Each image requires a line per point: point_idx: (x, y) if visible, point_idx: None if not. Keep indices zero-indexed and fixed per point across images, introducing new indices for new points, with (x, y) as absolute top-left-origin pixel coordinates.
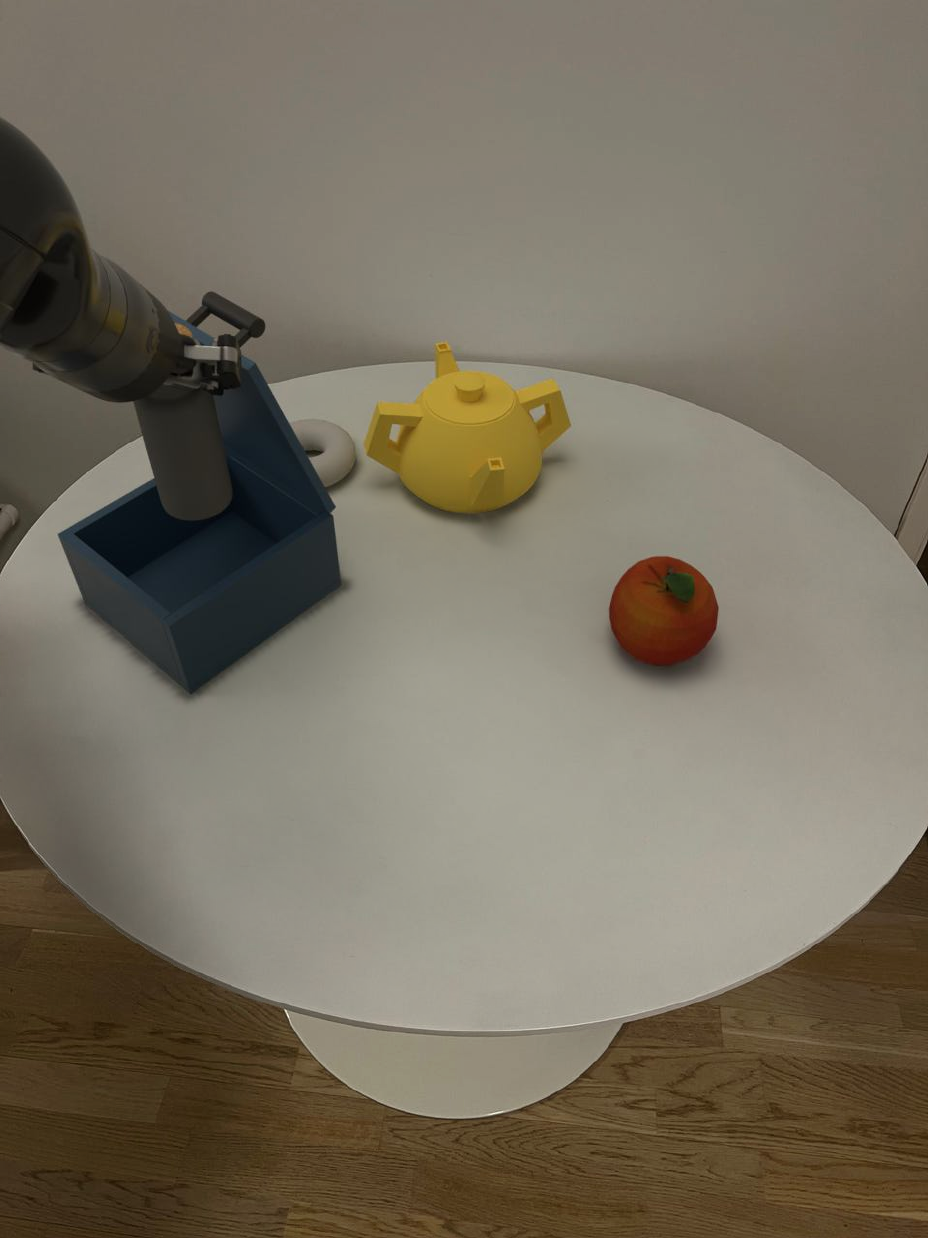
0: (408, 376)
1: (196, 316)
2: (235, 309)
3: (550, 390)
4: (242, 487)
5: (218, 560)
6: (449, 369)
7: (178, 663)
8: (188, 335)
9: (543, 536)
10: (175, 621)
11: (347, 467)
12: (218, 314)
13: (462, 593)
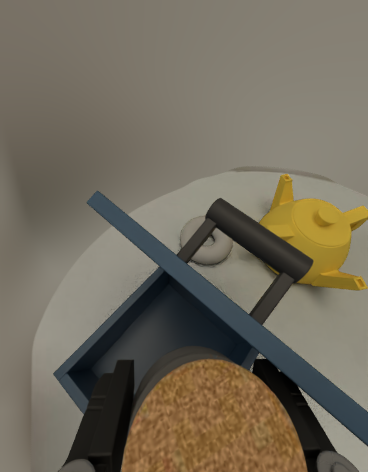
0: (241, 180)
1: (201, 238)
2: (269, 240)
3: (365, 215)
4: (182, 287)
5: (166, 329)
6: (288, 191)
7: None
8: (291, 440)
9: (345, 297)
10: None
11: (230, 250)
12: (235, 238)
13: (316, 349)
